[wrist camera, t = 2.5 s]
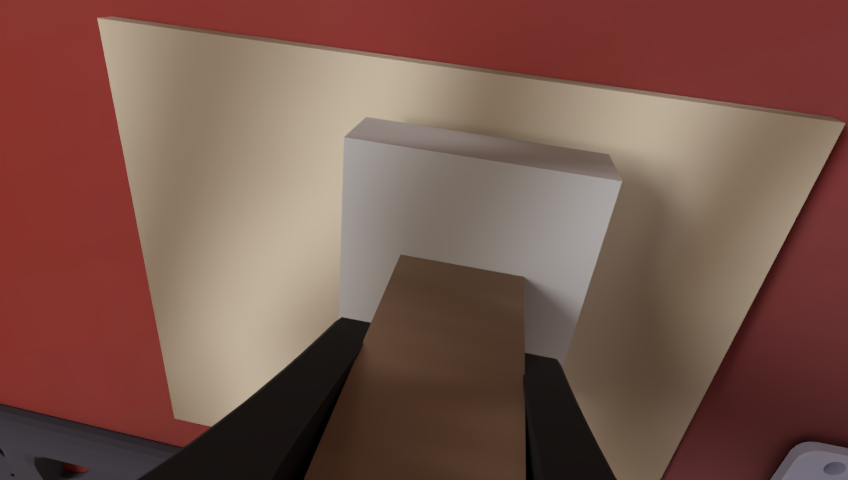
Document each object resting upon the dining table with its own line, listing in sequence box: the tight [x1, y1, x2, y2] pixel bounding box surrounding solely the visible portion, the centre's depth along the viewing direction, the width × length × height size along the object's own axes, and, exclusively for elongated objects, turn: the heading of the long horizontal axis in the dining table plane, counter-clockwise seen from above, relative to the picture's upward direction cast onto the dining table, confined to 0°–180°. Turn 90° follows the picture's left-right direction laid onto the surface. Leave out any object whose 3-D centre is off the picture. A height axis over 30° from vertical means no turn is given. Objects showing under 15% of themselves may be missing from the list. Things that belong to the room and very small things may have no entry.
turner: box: [304, 117, 622, 480], centre depth 8 cm, size 5×7×8 cm
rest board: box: [97, 17, 846, 480], centre depth 14 cm, size 16×13×1 cm
